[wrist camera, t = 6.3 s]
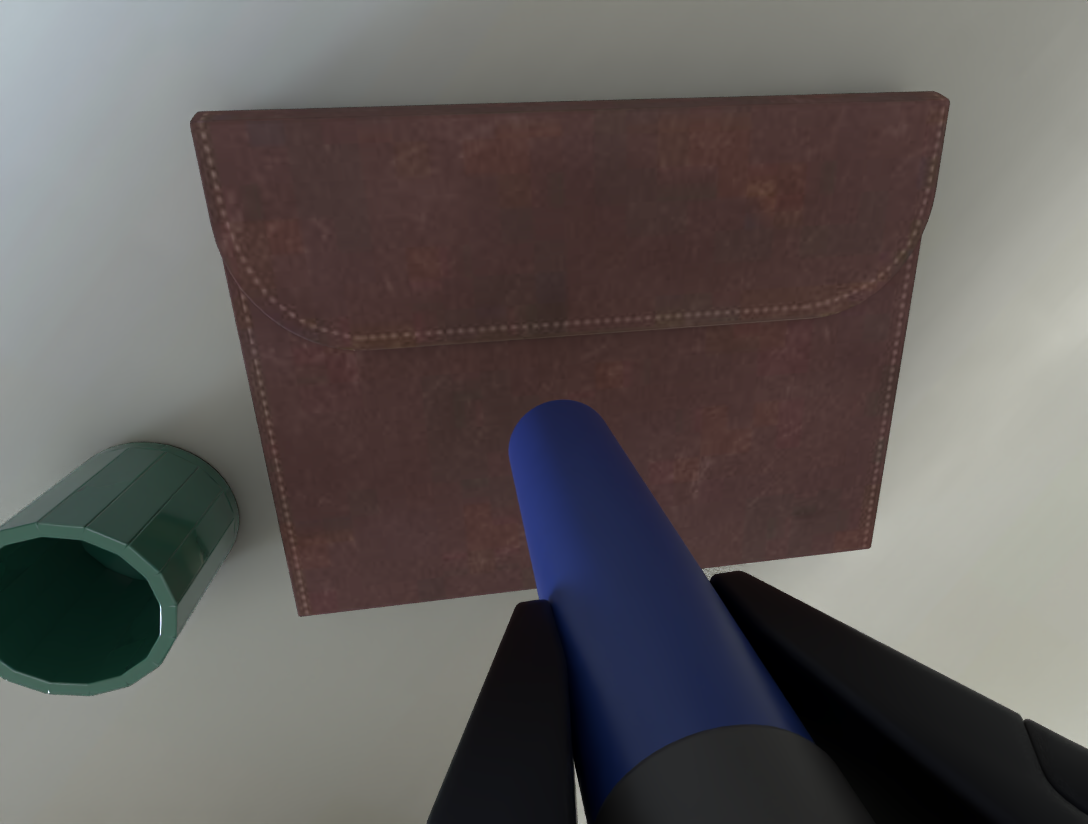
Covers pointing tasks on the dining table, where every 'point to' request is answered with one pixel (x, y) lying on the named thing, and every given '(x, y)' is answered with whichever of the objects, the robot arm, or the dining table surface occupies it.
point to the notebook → (568, 317)
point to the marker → (655, 650)
